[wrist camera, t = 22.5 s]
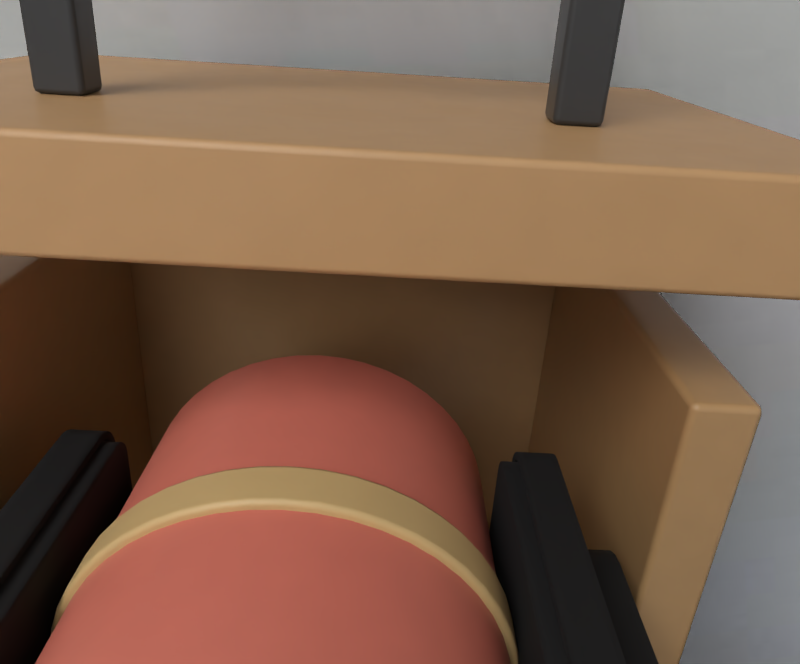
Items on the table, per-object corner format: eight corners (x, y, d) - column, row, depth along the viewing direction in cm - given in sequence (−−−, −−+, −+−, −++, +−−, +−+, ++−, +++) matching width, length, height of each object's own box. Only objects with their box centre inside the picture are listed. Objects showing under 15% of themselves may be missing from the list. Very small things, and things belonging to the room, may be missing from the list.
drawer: (-11, -355, 10) (-877, -1111, 3) (730, -300, 11) (1366, -905, 4) (130, 585, 19) (-37, 936, 12) (546, 605, 19) (630, 960, 12)
